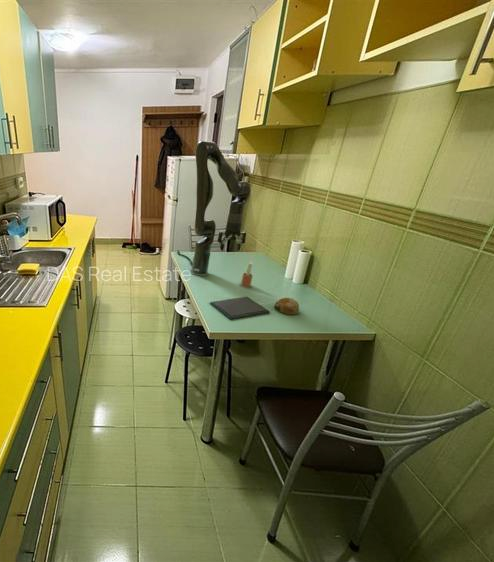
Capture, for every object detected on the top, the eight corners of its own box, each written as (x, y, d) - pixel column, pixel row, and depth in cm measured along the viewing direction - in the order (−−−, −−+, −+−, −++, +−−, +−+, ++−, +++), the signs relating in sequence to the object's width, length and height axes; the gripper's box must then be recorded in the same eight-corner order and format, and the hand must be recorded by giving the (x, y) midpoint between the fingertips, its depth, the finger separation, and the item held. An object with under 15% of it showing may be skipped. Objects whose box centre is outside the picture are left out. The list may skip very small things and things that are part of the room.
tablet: (210, 303, 151) (210, 301, 150) (246, 298, 157) (246, 296, 157) (230, 319, 137) (230, 317, 136) (269, 313, 143) (269, 310, 143)
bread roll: (291, 322, 142) (303, 311, 138) (271, 309, 145) (283, 297, 140) (292, 313, 150) (303, 302, 146) (273, 301, 153) (284, 290, 148)
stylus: (243, 284, 172) (247, 262, 166) (245, 284, 172) (250, 262, 167) (245, 286, 170) (250, 263, 165) (248, 285, 171) (253, 263, 165)
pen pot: (238, 284, 173) (241, 273, 170) (246, 283, 174) (248, 272, 171) (244, 288, 169) (247, 276, 166) (252, 287, 170) (254, 275, 167)
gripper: (245, 219, 164) (239, 248, 170) (219, 219, 163) (214, 248, 170) (250, 223, 157) (245, 252, 163) (223, 222, 157) (218, 252, 163)
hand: (229, 250), depth 167 cm, fingers open, 8 cm apart
